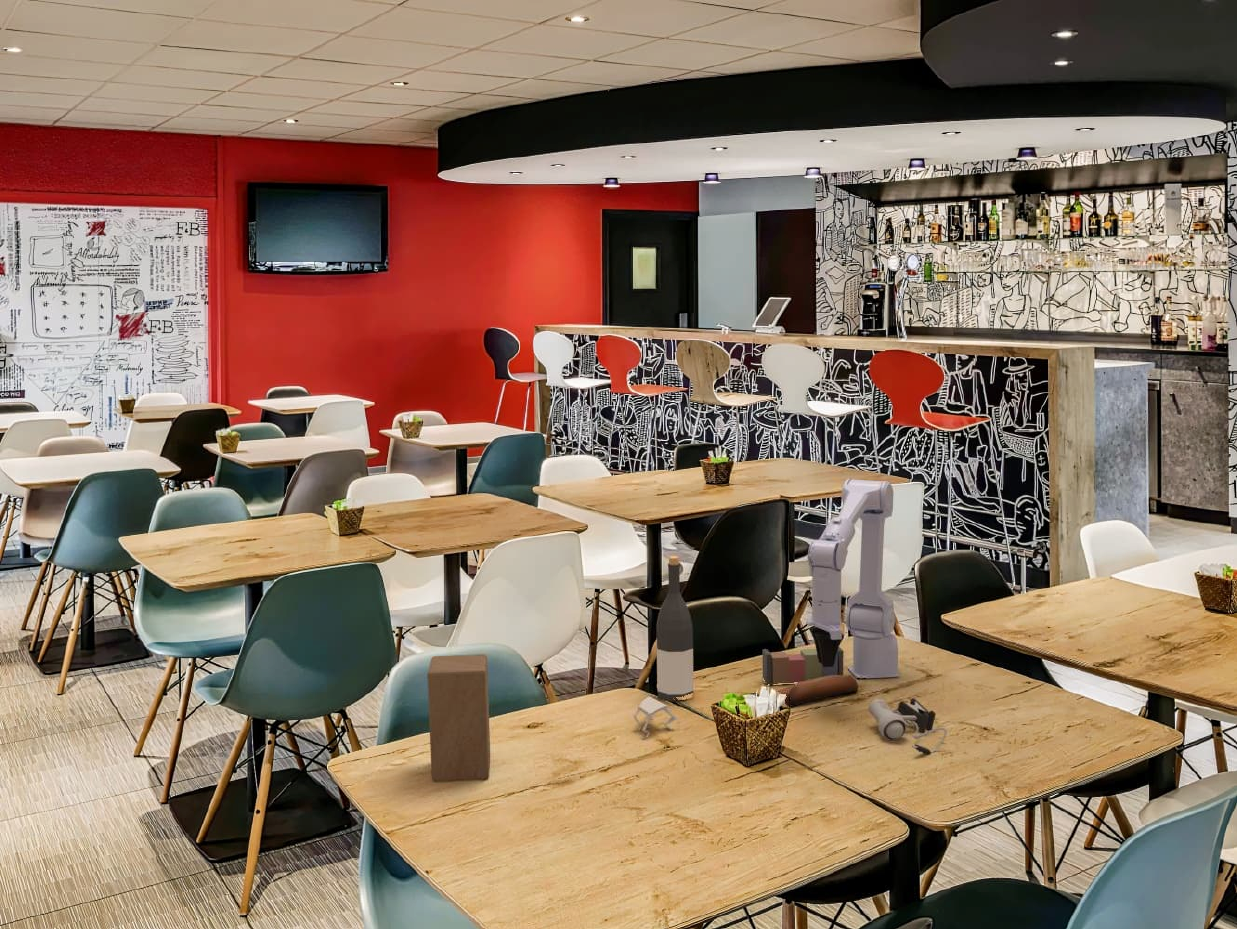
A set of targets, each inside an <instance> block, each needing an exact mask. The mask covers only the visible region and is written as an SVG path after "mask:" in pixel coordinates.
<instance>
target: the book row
mask: <svg viewBox="0 0 1237 929" xmlns="http://www.w3.org/2000/svg"><path fill="white" fill-rule="evenodd" d="M831 675H844V650H843V649H842V648H841V647H840V646H839V648H838V651H837V654H836V659H835V663H834V666H833V667H823V665H822V663H819V660H818V656H817V651H816V648H813V649H812V648H811V649H810V648H809V649H800V652H799V653H797V654H795V653H794V654H787V653H786V652H785V651H778V652H777V651H775V652H774V651H772V652H770V651H769V649H767V648H763V649H762V679H763V678H764V680H765V682H766V684H767V685H768V684H771V683H772V684H778V683H794V682H803V681H806V680H809V679H811V680H812V679H816V678H820V677H824V676H831ZM766 684H765V685H766ZM772 684H771V685H772Z"/></svg>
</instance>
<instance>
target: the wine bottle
mask: <svg viewBox="0 0 1237 929" xmlns="http://www.w3.org/2000/svg"><path fill="white" fill-rule="evenodd" d="M679 559H680V558H679V556H675V555H671V556H669V557H668V563H667V567H668V568H667V569H668V572H667V573H668V592H667V595H666V597H665V599H664V601H663V602H662V604H661V606H660V609H659V612H658V616H657V620H656V676H657V678H656V682H657V684H656V685H657V697H658V699H660V700H663V701H667V702H677V701H676V700H678V699H677V698H676V697H682V696H683V697H684V696H685V695H688V694H691V693H693V694H694V634H693V632H694V631H693V630H694V628H693V627H694V626H693V622H692V618H691V614H690V611H689V608H688V605H687V604H686V601H685V600H684V598H683V597H682V594H681V590H680V589H681V586H680V585H681V584H680V576H681V575H680V568H681V564H680V562H679ZM673 698H674V699H675V700H674V699H673Z"/></svg>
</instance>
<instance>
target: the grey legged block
mask: <svg viewBox="0 0 1237 929" xmlns="http://www.w3.org/2000/svg"><path fill="white" fill-rule="evenodd" d="M669 707H670V705H667V704H666V703H663V702H661V701H658V700H657V699H655V698H653V697H651V696H647V697H646V698H644V699H642V701H641V703H640V704H639V705H638V706H637V710H636V712H635V713H634V714H633V715H632V717H633V718H634V719H635V721H636V723H637V724H638V725H639V727H638V731H640V730H641V731H643V732H645V733H647V734H646V736H645V739H646V738H648V739H649V736H650V733H651V732H649V731H648V730H646V729H647V727H648V725H649V722H650V719H651V720H655V718H653V717H652V716H653V715H655V714H656V713H658V712H661V711H664V712H665V713H667V714H668V715H669V716H670V718H669V719H668V720H666V721H665V722H664V723H662V726H664V727H665V728H667V729H668V730H671V731H672V730H673V728H671V727H670V726H668V725H669V724H671V723H672V722H674V721H677V719H678V717H677V715H675V714H674V713H673V712H672V711H671V710H669ZM639 712H641V713H643V714H644V715H646V716H647V719H646V721H645V724H644V726H643V728H642V725H641V724H640V721H639V720H638V718H637V715H638V714H639Z"/></svg>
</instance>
